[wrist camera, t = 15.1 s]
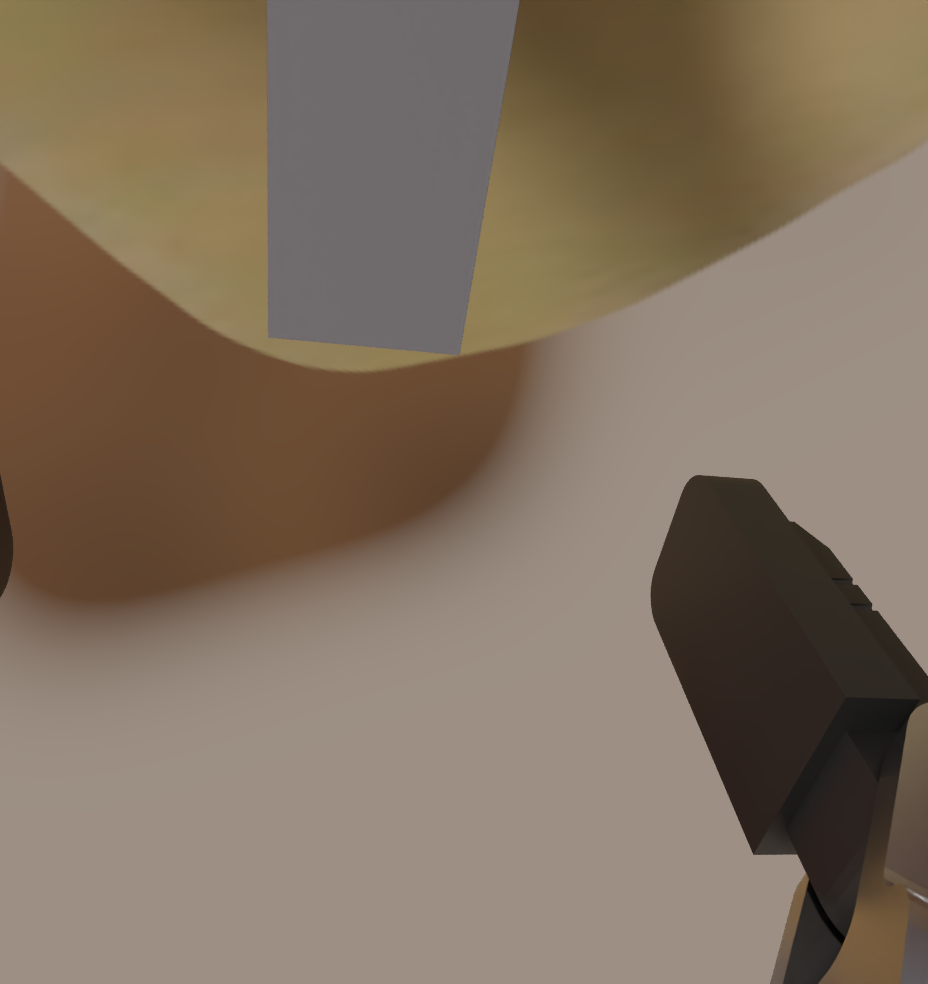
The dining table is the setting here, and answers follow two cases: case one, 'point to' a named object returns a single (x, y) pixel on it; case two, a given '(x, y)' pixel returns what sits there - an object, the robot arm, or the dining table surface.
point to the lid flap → (380, 165)
